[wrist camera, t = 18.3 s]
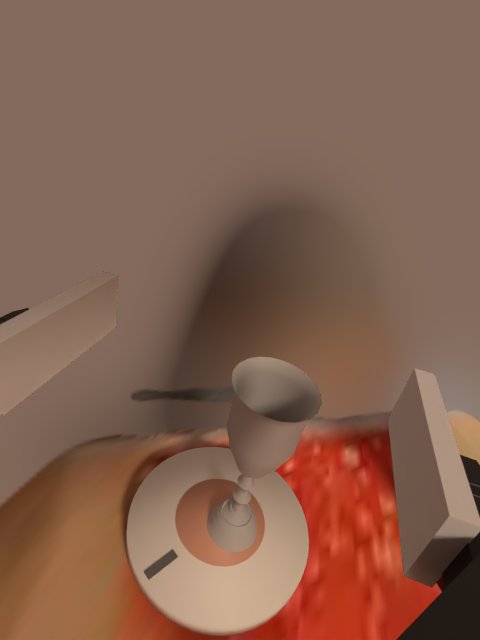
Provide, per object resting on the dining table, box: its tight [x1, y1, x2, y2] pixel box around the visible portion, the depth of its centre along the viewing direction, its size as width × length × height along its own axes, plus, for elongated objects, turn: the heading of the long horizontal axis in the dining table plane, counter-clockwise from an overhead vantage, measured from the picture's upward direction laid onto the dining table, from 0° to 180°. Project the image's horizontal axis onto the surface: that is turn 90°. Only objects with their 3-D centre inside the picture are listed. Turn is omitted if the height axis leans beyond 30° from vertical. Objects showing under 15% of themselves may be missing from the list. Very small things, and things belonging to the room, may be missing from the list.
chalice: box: [207, 357, 321, 552], centre depth 32 cm, size 7×7×18 cm
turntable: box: [126, 447, 309, 636], centre depth 38 cm, size 18×18×2 cm
